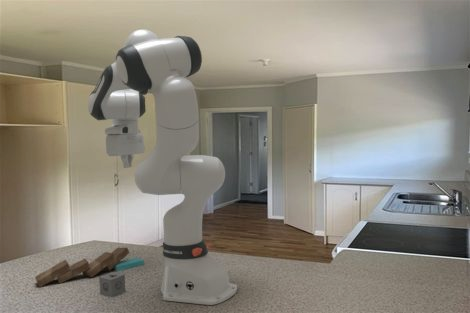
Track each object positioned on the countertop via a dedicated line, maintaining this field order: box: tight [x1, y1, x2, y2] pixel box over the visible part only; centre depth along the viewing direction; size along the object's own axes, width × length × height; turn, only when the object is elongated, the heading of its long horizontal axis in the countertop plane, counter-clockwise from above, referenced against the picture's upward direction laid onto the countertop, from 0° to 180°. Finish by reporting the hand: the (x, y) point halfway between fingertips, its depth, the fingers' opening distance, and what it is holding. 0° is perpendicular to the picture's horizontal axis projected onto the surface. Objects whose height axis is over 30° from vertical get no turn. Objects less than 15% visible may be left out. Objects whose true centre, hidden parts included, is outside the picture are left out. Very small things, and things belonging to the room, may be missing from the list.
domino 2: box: [56, 258, 91, 284], centre depth 132 cm, size 2×5×10 cm
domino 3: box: [81, 251, 116, 278], centre depth 137 cm, size 2×5×10 cm
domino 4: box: [101, 247, 130, 271], centre depth 142 cm, size 2×5×10 cm
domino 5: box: [112, 256, 145, 272], centre depth 143 cm, size 2×5×10 cm
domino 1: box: [34, 259, 71, 288], centre depth 129 cm, size 2×5×10 cm
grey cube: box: [98, 271, 126, 298], centre depth 119 cm, size 5×5×5 cm
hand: (127, 167), depth 148 cm, fingers closed
